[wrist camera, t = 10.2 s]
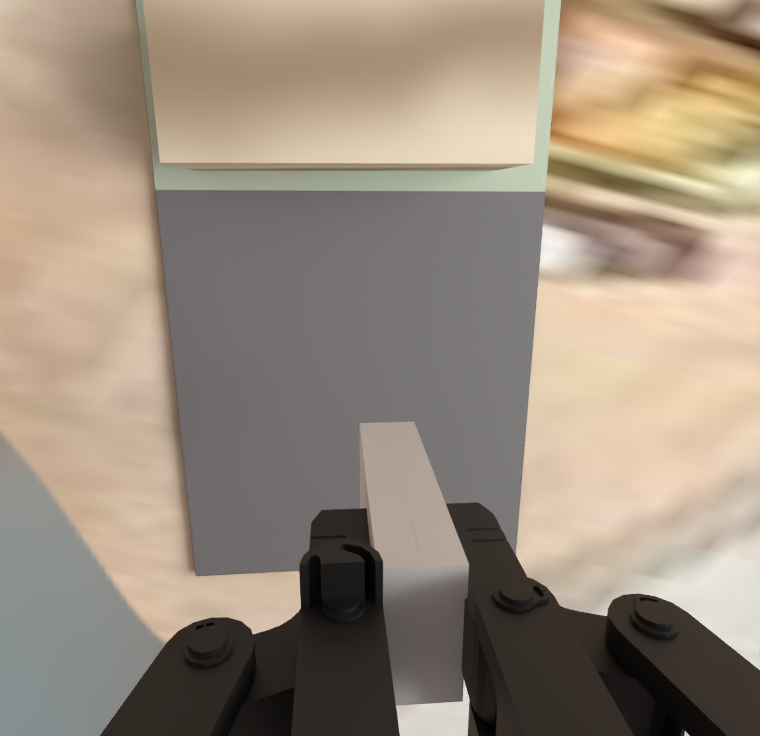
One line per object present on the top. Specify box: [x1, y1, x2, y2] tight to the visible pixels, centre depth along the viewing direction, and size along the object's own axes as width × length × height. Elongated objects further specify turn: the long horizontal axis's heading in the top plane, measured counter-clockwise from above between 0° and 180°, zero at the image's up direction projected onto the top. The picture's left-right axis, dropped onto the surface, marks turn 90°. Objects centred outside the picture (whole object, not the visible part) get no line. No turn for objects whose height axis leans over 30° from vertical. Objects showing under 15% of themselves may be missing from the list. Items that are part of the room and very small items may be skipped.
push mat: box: [136, 0, 561, 576], centre depth 22 cm, size 35×16×3 cm, turn 0°
